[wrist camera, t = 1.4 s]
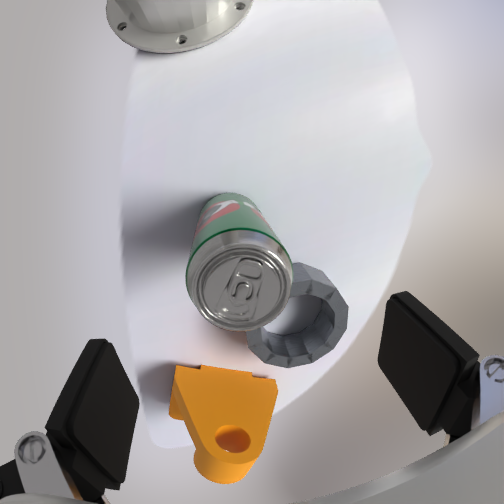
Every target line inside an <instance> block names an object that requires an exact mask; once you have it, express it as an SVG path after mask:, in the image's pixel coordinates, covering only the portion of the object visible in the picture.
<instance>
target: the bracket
mask: <svg viewBox="0 0 504 504" xmlns="http://www.w3.org/2000/svg"><path fill="white" fill-rule="evenodd" d="M277 394H278V389H277V385H276V381H275V379H266V378H257V377H252V372H245V371H238V370H231V369H224V368H217V367H211V366H205V365H201V367H200V369H195V368H189V367H184V366H179V365H176V369H175V375H174V381H173V387H172V393H171V399H170V406H169V415H170V417H172V418H174V419H178V420H184V422H185V424H186V427H187V429H188V431H189V434H190V436H191V438H192V441H193V443H194V445H195V447H196V450H195V453H194V464H195V467H196V468H197V470H198V471H199V473H200V474H201V475H202V476H204V477H205V478H206V479H208V480H210V481H212V482H215V483H220V484H230V483H235V482H237V481H239V480H241V479H242V478H243V477H244V476H245V475H246V474H247V472H248V471H249V469H250V468H251V467H252V465H253V464H254V462H255V461H256V460H257V458H258V457H259V455H260V454H261V452H262V450H263V446H264V443H265V439H266V436H267V432H268V428H269V425H270V421H271V417H272V413H273V410H274V406H275V402H276V398H277ZM225 450H227V451H229V452H227V451H225Z"/></svg>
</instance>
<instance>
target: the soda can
mask: <svg viewBox="0 0 504 504" xmlns="http://www.w3.org/2000/svg"><path fill="white" fill-rule="evenodd" d="M292 284H293V266H292V262H291V259H290V257H289V254H288V253H287V251H286V249H285V248H284V246H283V245H282V243H281V242H280V240H279V239H278V237H277V236H276V234H275V233H274V232H273V230H272V229H271V227H270V226H269V224H268V223H267V221H266V220H265V218H264V217H263V215H262V214H261V212H260V211H259V210H258V208H257V207H256V205H255V204H254V203H253V202H252V201H251V200H250V199H249V198H247V197H245V196H243V195H240V194H236V193H224V194H220V195H218V196H215V197H214V198H212V199H211V200H209V201H208V202H207V203H206V204H205V206H204V207H203V209H202V211H201V213H200V216H199V219H198V223H197V227H196V231H195V235H194V239H193V243H192V247H191V251H190V256H189V260H188V264H187V269H186V287H187V291H188V294H189V296H190V298H191V300H192V302H193V303H194V305H195V306H196V307H197V309H198V310H199V312H200V313H201V315H202V316H203V317H204V318H205V319H206V320H208V321H209V322H210V323H212V324H213V325H215V326H217V327H219V328H222V329H225V330H229V331H251V330H254V329H258V328H260V327H263V326H265V325H266V324H268V323H270V322H271V321H273V320H274V319H275V318H276V317H277V316H278V315H279V314H280V313H281V312H282V310H283V309H284V308H285V306H286V304H287V302H288V299H289V296H290V291H291V287H292Z"/></svg>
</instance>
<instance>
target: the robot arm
mask: <svg viewBox="0 0 504 504" xmlns="http://www.w3.org/2000/svg"><path fill="white" fill-rule="evenodd" d="M252 4H253V0H107V6H106V12H107V13H106V14H107V20H108V22H109V25H110V27H111V28H112V30H113V31H114V32H115V34H116V35H117V36H118V37H119V38H120V39H121V40H122V41H124V42H125V43H127V44H129V45H130V46H132V47H134V48H137V49H140V50H143V51H149V52H155V53H175V52H182V51H188V50H192V49H196V48H199V47H203V46H205V45H207V44H210V43H212V42H215V41H217V40H218V39H220V38H222V37H224V36H225V35H227V34H229V33H230V32H231V31H232V30H233V29H235V28H236V27H237V26H238V25H239V24H240V23H241V22H242V21H243V20H244V18H245V17H246V16H247V14H248V12H249V10H250V9H251V7H252ZM237 9H241V10H237ZM124 28H125V29H124ZM123 29H124V30H123ZM181 41H185V43H184V44H180V42H181ZM478 358H479V354H478V353H477V352H476V351H475V350H474V349H473V348H472V347H471V346H469V345H468V344H467V343H466V342H465V341H464V340H463V339H462V338H461V337H460V336H459V335H458V334H456V333H455V332H454V331H453V330H452V329H451V328H450V327H449V326H447V325H446V324H445V323H444V322H443V321H442V320H441V319H440V318H439V317H437V316H436V315H435V314H434V313H433V312H432V311H430V310H429V309H428V308H427V307H426V306H425V305H423V304H422V303H421V302H420V301H419V300H418V299H416V298H415V297H414V296H413V295H411V294H410V293H409V292H407V291H404V292H400V293H396V294H393V295H391V297H390V299H389V300H388V301H387V303H386V310H385V318H384V324H383V331H382V337H381V343H380V349H379V354H378V364H379V367H380V369H381V370H382V371H383V373H384V374H385V376H386V377H387V379H388V380H389V382H390V383H391V384H392V386H393V388H394V389H395V390H396V392H397V393H398V395H399V396H400V398H401V399H402V401H403V402H404V404H405V405H406V407H407V408H408V410H409V411H410V413H411V414H412V416H413V417H414V419H415V420H416V422H417V423H418V425H419V427H420V428H421V429H422V430H424V431H425V430H426V431H427V433H428V434H429V435H430V436H431V435H433V434H435V433H437V432H439V431H440V430H442V429H444V431H445V432H446V435H445V441H444V446H443V448H441V449H439V450H437V451H436V452H434V453H432V454H430V455H428V456H426V457H424V458H422V459H420V460H418V461H416V462H414V463H412V464H410V465H408V466H406V467H404V468H401V469H399V470H397V471H395V472H392V473H390V474H387V475H385V476H382V477H380V478H377V479H375V480H372V481H370V482H367V483H364V484H361V485H358V486H355V487H352V488H349V489H346V490H343V491H340V492H336V493H333V494H329V495H326V496H322V497H318V498H314V499H310V500H306V501H301V502H297V503H291V504H504V357H503V356H499V355H490V356H487V357H485V358H484V359H483V360H482V362H481V363H479V362H478V361H477V360H478ZM138 409H139V398H138V396H137V394H136V392H135V390H134V388H133V386H132V385H131V382H130V380H129V378H128V376H127V374H126V372H125V370H124V368H123V366H122V364H121V362H120V360H119V357H118V355H117V353H116V351H115V348H114V346H113V345H112V343H108V341H107V340H106V339H91V340H89V341H88V343H87V344H86V346H85V348H84V350H83V351H82V353H81V355H80V357H79V359H78V361H77V362H76V364H75V366H74V368H73V370H72V372H71V374H70V376H69V378H68V380H67V382H66V384H65V386H64V388H63V390H62V392H61V394H60V396H59V398H58V400H57V402H56V404H55V406H54V408H53V411H52V412H51V415H50V417H49V419H48V421H47V424H46V426H45V429H46V430H47V433H46V435H44V434H43V433H41V432H38V431H33V432H29V433H26V434H25V435H24V436H22V437H21V438H20V439H19V440H18V442H17V444H16V446H15V450H14V453H15V459H14V460H12V461H10V462H8V463H6V464H4V465H2V466H0V504H110V502H109V501H108V499H107V498H106V497H105V495H104V492H105V488H107V489H113V490H119V489H120V484H121V483H123V482H124V481H125V477H126V471H127V465H128V459H129V453H130V448H131V443H132V438H133V433H134V428H135V423H136V419H137V414H138Z"/></svg>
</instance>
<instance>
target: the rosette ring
mask: <svg viewBox="0 0 504 504" xmlns="http://www.w3.org/2000/svg"><path fill="white" fill-rule="evenodd" d="M292 266H293V284H292V287H291V291H290V296H289V297H294V296H300V295H306V294H310V295H313V296H316V297H319V298H322V310H321V312H320V313H319V315H318V317H317V318H316V320H315V322H314V323H313V324H312V325H310V326H309V327H307V328H306V329H304V330H303V331H301V332H300V333H296V334H290V335H285V336H281V335H278V334H274V333H270V332H267V331H266V330H265V329H264V328H263V327H260V328H258V329H254V330H251V331H246V336H247V342H248V348H249V349H250V350H251V351H252V352H253V353H254V354H255V355H256V356H257V357H258V358H259V359H261V360H262V361H263V362H264V363H266V364H271V365H275V366H280V367H285V368H291V367H296V366H300V365H305V364H310V363H313V362H314V361H316V360H318V359H319V358H321V357H322V356H324V355H325V354H327V353H328V352H330V351H331V350H333V349H334V347H335V346H336V344H337V343H338V341H339V340H340V338H341V337H342V335H343V334H344V332H345V331H346V329H347V319H348V305H347V304H346V302H345V301H344V299H343V298H342V296H341V295H340V293H339V291H338V290H337V288H336V287H335V286H334V285H333V283H332V282H331V281H330V280H329V279H328V277H327V276H326V275H325V274H324V272H323V271H321V270H318V269H316V268H313V267H310V266H308V265H305V264H303V263H295V264H292Z"/></svg>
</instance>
